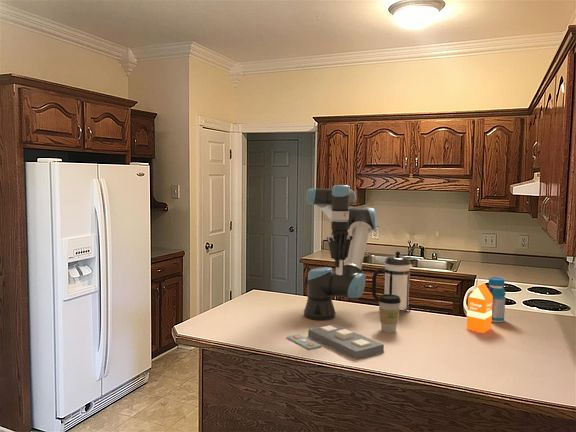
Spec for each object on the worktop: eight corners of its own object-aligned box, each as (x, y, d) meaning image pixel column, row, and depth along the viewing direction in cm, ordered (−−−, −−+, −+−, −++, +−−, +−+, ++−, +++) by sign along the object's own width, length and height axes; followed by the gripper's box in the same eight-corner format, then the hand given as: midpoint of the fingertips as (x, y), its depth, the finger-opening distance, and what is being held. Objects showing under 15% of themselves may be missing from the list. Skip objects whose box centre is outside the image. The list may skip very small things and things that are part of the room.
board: (308, 336, 202) (308, 329, 201) (334, 330, 209) (334, 323, 209) (356, 359, 177) (356, 351, 176) (383, 352, 184) (383, 344, 184)
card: (286, 338, 199) (286, 336, 199) (298, 335, 202) (298, 333, 202) (309, 349, 186) (309, 347, 186) (321, 347, 189) (321, 345, 189)
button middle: (335, 339, 194) (335, 331, 193) (345, 337, 196) (345, 328, 196) (343, 343, 189) (343, 334, 189) (353, 340, 192) (353, 332, 192)
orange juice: (466, 328, 214) (468, 284, 212) (474, 324, 220) (476, 281, 218) (484, 332, 208) (486, 287, 207) (491, 328, 215) (493, 284, 213)
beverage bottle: (499, 323, 222) (501, 281, 220) (481, 319, 228) (483, 278, 226) (507, 320, 227) (509, 278, 225) (490, 316, 233) (492, 275, 232)
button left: (320, 335, 202) (320, 327, 202) (329, 333, 205) (329, 325, 204) (327, 338, 198) (327, 330, 197) (337, 336, 201) (337, 328, 200)
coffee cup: (400, 334, 205) (401, 300, 204) (377, 332, 207) (377, 298, 206) (399, 327, 215) (400, 294, 213) (377, 325, 217) (378, 293, 215)
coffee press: (390, 304, 254) (391, 247, 251) (416, 310, 243) (418, 251, 240) (370, 310, 242) (372, 251, 239) (398, 317, 230) (399, 255, 228)
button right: (351, 350, 185) (352, 341, 185) (361, 347, 188) (361, 338, 188) (360, 354, 181) (360, 345, 181) (370, 351, 184) (370, 342, 184)
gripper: (333, 222, 201) (332, 277, 203) (357, 220, 208) (356, 274, 210) (322, 220, 207) (322, 274, 209) (346, 219, 214) (344, 271, 216)
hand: (339, 274), depth 210 cm, fingers closed
